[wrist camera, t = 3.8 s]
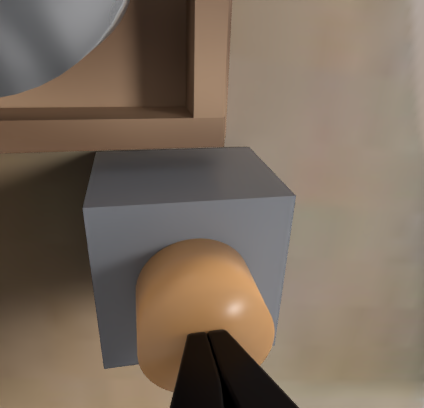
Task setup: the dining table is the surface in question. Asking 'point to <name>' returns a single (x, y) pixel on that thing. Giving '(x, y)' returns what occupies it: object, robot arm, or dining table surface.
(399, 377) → the dining table surface
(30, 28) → the seated billet
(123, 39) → the pallet
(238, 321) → the button
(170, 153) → the grey square block
